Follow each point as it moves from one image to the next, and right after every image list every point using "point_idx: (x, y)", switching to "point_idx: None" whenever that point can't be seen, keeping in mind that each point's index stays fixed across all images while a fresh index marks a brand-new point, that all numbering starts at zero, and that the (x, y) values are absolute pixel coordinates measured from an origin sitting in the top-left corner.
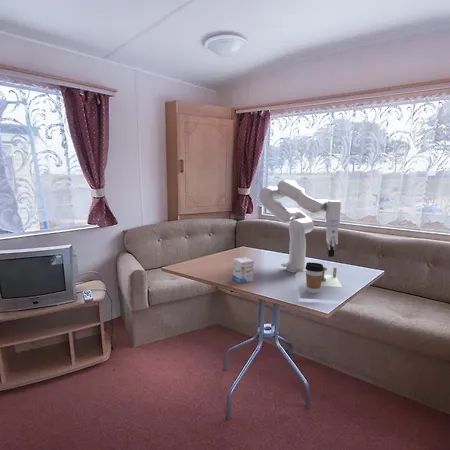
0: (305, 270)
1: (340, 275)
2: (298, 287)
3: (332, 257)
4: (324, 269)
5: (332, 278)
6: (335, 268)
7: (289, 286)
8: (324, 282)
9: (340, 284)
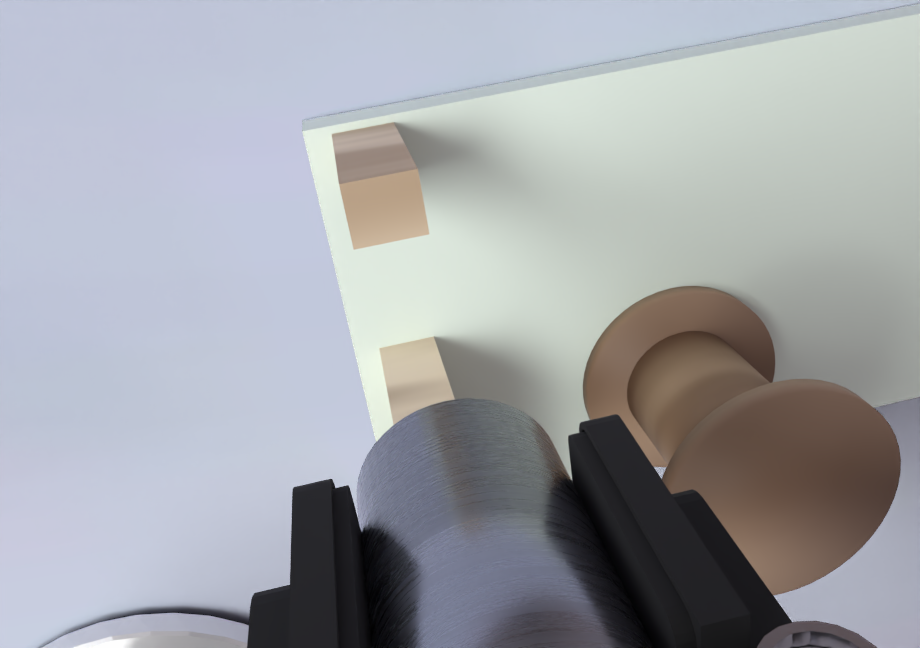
0: (203, 646)
1: (40, 9)
2: (910, 558)
3: (544, 432)
4: (873, 430)
5: (537, 186)
6: (420, 192)
7: (889, 642)
8: (797, 301)
9: (859, 30)
